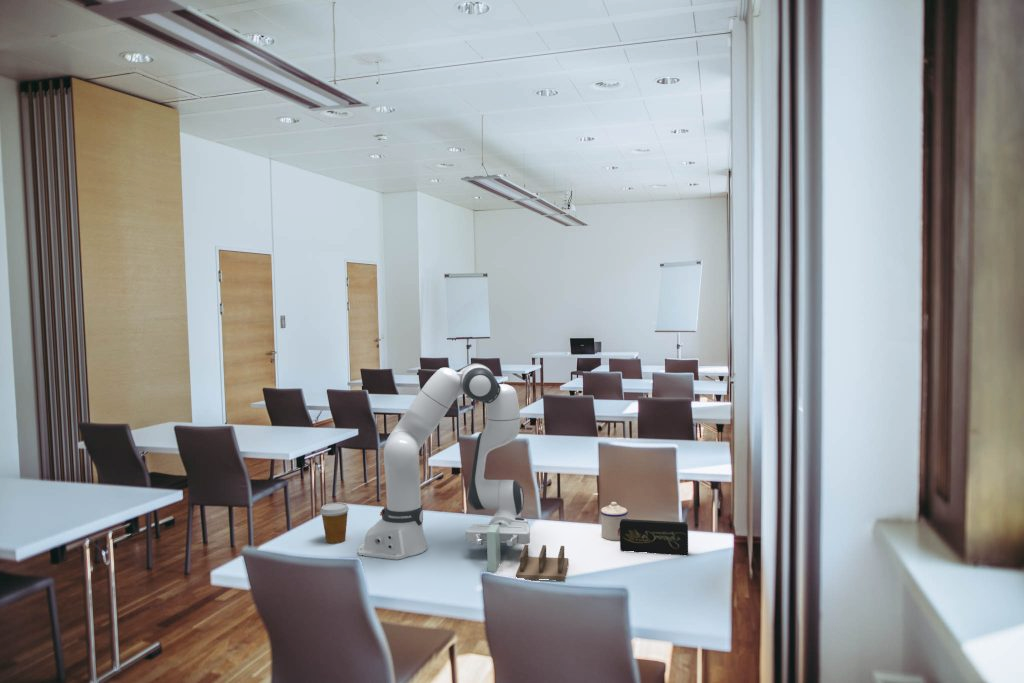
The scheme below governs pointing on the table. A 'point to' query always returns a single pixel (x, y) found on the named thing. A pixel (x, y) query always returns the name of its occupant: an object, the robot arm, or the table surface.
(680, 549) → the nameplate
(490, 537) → the pale green rectangular block
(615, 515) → the teacup with lid
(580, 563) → the table surface
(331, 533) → the disposable coffee cup
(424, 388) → the robot arm
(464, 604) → the table surface
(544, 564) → the slot rack
